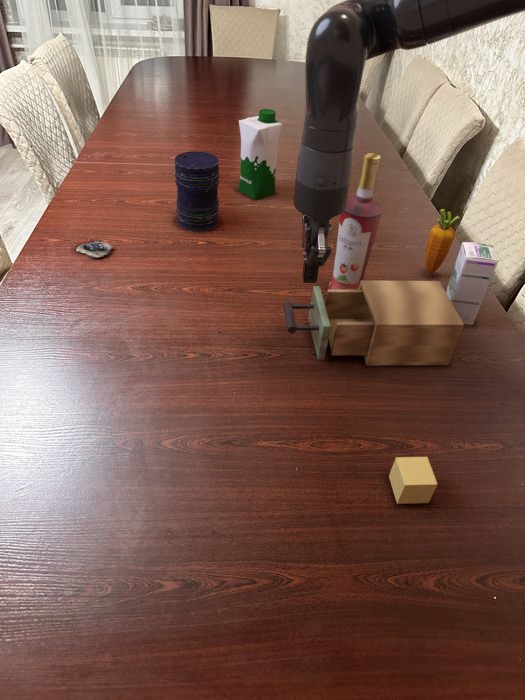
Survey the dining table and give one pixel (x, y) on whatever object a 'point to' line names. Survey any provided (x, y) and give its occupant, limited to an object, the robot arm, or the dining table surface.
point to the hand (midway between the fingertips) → (309, 280)
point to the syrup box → (471, 279)
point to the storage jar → (197, 190)
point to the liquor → (357, 230)
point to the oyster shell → (95, 249)
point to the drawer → (336, 321)
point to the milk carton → (259, 154)
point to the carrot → (439, 242)
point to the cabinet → (410, 323)
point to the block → (412, 480)
